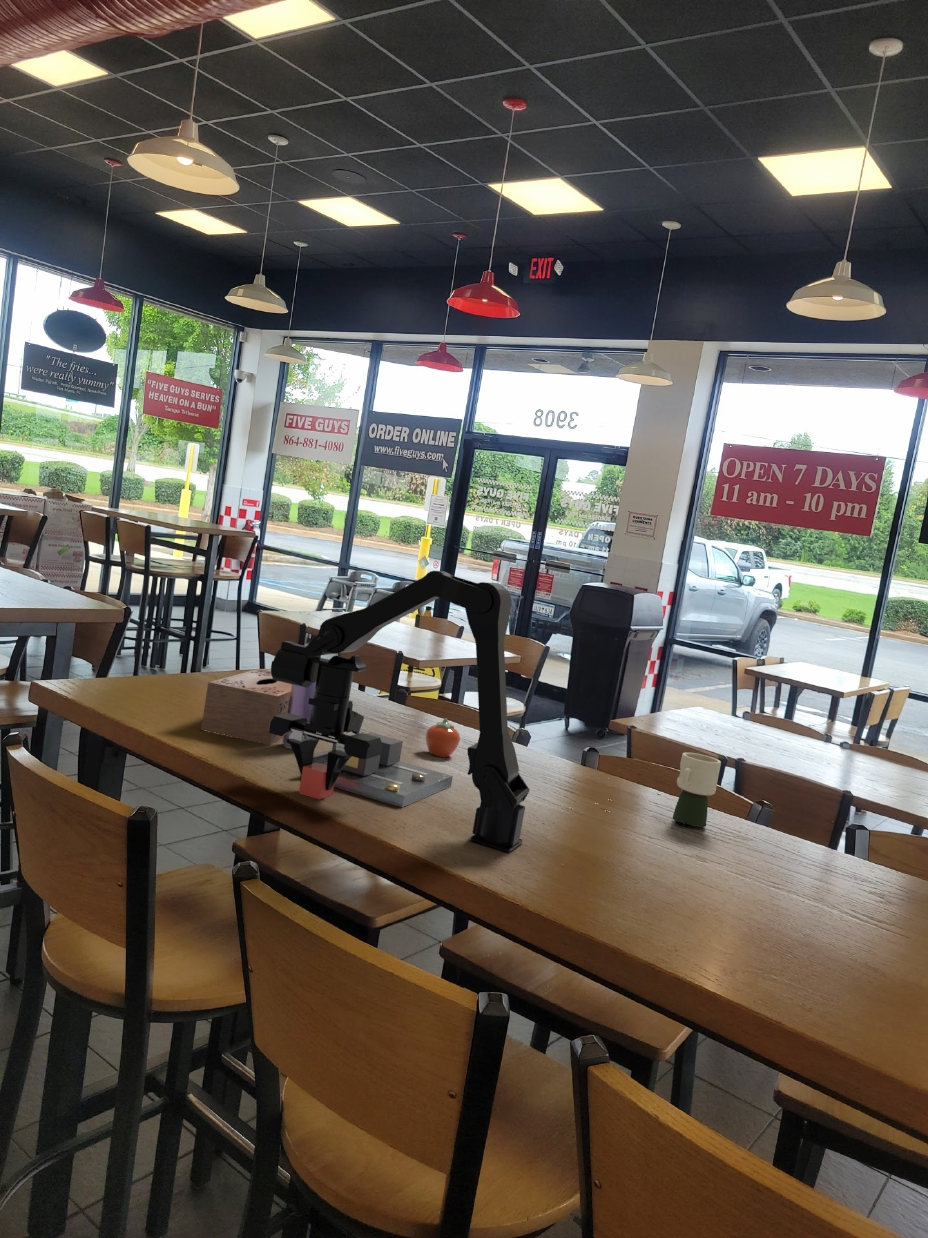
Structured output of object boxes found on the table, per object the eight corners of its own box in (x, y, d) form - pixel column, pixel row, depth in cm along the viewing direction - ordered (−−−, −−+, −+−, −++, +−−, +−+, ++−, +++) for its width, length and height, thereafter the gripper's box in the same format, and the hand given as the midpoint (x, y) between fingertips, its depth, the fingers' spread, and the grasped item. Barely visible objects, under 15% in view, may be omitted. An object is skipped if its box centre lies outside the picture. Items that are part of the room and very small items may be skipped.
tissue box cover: (251, 712, 200) (258, 668, 199) (312, 725, 198) (319, 680, 197) (200, 732, 175) (208, 682, 174) (270, 746, 173) (278, 696, 172)
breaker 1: (377, 771, 158) (381, 749, 158) (363, 776, 153) (367, 753, 153) (343, 761, 161) (347, 740, 161) (328, 766, 156) (332, 743, 156)
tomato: (450, 751, 194) (456, 715, 193) (461, 761, 187) (467, 724, 186) (418, 748, 191) (424, 712, 191) (427, 758, 184) (434, 720, 184)
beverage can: (306, 753, 171) (318, 677, 170) (277, 747, 172) (289, 671, 171) (317, 747, 177) (329, 673, 176) (289, 741, 178) (300, 668, 177)
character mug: (685, 815, 174) (697, 750, 173) (719, 827, 169) (732, 761, 168) (657, 822, 165) (670, 753, 164) (692, 834, 161) (705, 764, 160)
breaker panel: (450, 786, 165) (454, 768, 165) (402, 807, 147) (405, 787, 147) (357, 760, 173) (360, 742, 173) (300, 777, 154) (303, 757, 154)
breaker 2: (399, 761, 168) (402, 741, 167) (387, 765, 163) (390, 744, 163) (367, 752, 170) (370, 732, 170) (354, 756, 166) (357, 735, 165)
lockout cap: (332, 795, 147) (336, 768, 147) (319, 799, 144) (324, 772, 143) (312, 788, 149) (316, 762, 148) (298, 793, 145) (303, 766, 145)
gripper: (404, 701, 149) (389, 792, 150) (310, 678, 156) (297, 765, 157) (372, 708, 139) (356, 805, 140) (273, 682, 146) (259, 775, 147)
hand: (317, 786), depth 146 cm, fingers closed on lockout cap, 4 cm apart
